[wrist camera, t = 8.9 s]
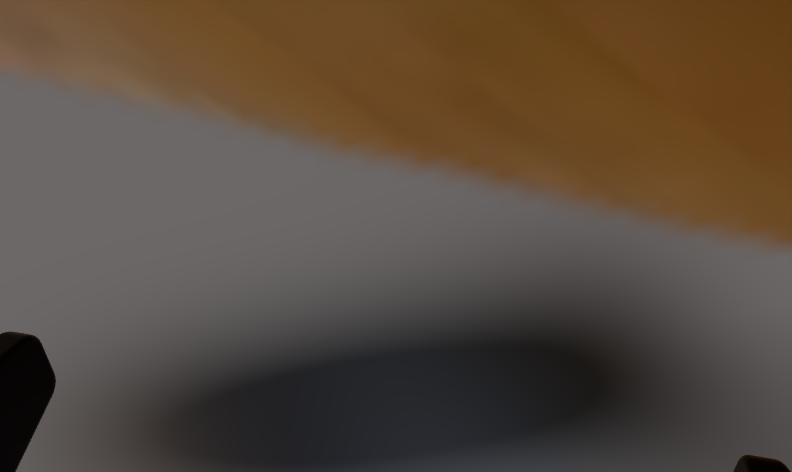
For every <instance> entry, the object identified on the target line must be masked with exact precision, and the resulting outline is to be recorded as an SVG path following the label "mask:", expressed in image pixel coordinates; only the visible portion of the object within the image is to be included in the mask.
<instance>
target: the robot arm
mask: <svg viewBox="0 0 792 472" xmlns="http://www.w3.org/2000/svg"><path fill="white" fill-rule="evenodd" d="M55 383H56V379H55V374H54V371H53V369H52V367H51V365H50V362H49V360H48V357H47V355H46V353H45V350H44V348H43V346H42V343H41V342H40V340H39V339H38V338H37V337H36V336H33V335H30V334H24V333H18V332H5V333H2V334H0V472H16V470H17V467H18V465H19V463H20V461H21V459H22V457H23V455H24V453H25V451H26V449H27V447H28V445H29V443H30V441H31V438H32V436H33V434H34V432H35V430H36V428H37V426H38V424H39V422H40V420H41V418H42V416H43V414H44V411H45V409H46V407H47V405H48V403H49V401H50V399H51V397H52V395H53V392H54V389H55ZM733 472H790V470H789V469H788V468H787V467H786V465H784V464H783V463H782V462H780V461H778V460H776V459H771V458H765V457H759V456H753V455H744V456H742V457H741V458H740V459H739V461H738V463H737V465H736V467H735V469H734V471H733Z"/></svg>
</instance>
